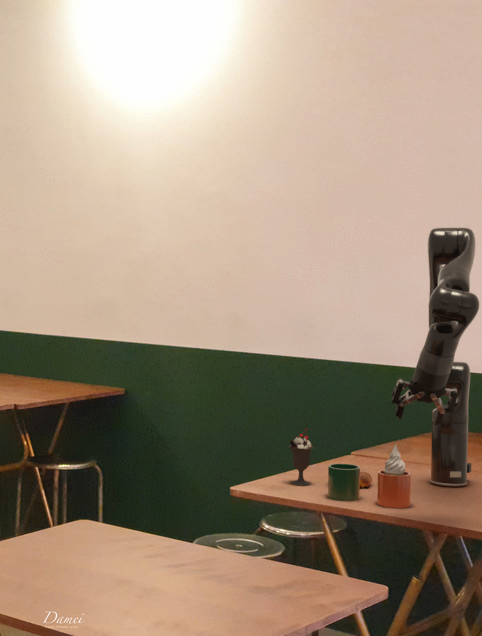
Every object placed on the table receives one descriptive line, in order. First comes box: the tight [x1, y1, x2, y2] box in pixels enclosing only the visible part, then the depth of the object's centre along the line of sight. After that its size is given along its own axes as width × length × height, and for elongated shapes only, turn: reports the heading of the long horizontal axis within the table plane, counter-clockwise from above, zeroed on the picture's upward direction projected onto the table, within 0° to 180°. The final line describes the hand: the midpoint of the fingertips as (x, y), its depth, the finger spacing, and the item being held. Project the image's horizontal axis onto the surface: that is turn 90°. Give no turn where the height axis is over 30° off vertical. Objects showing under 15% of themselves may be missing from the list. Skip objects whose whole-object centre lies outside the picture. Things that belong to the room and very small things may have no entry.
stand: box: [327, 463, 361, 502], centre depth 280 cm, size 8×8×8 cm
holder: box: [376, 469, 412, 509], centre depth 272 cm, size 8×8×8 cm
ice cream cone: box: [383, 443, 406, 476], centre depth 272 cm, size 5×5×15 cm
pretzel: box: [360, 471, 373, 488], centre depth 294 cm, size 12×11×4 cm
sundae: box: [288, 427, 315, 486], centre depth 296 cm, size 7×7×15 cm
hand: (416, 420), depth 262 cm, fingers open, 8 cm apart
